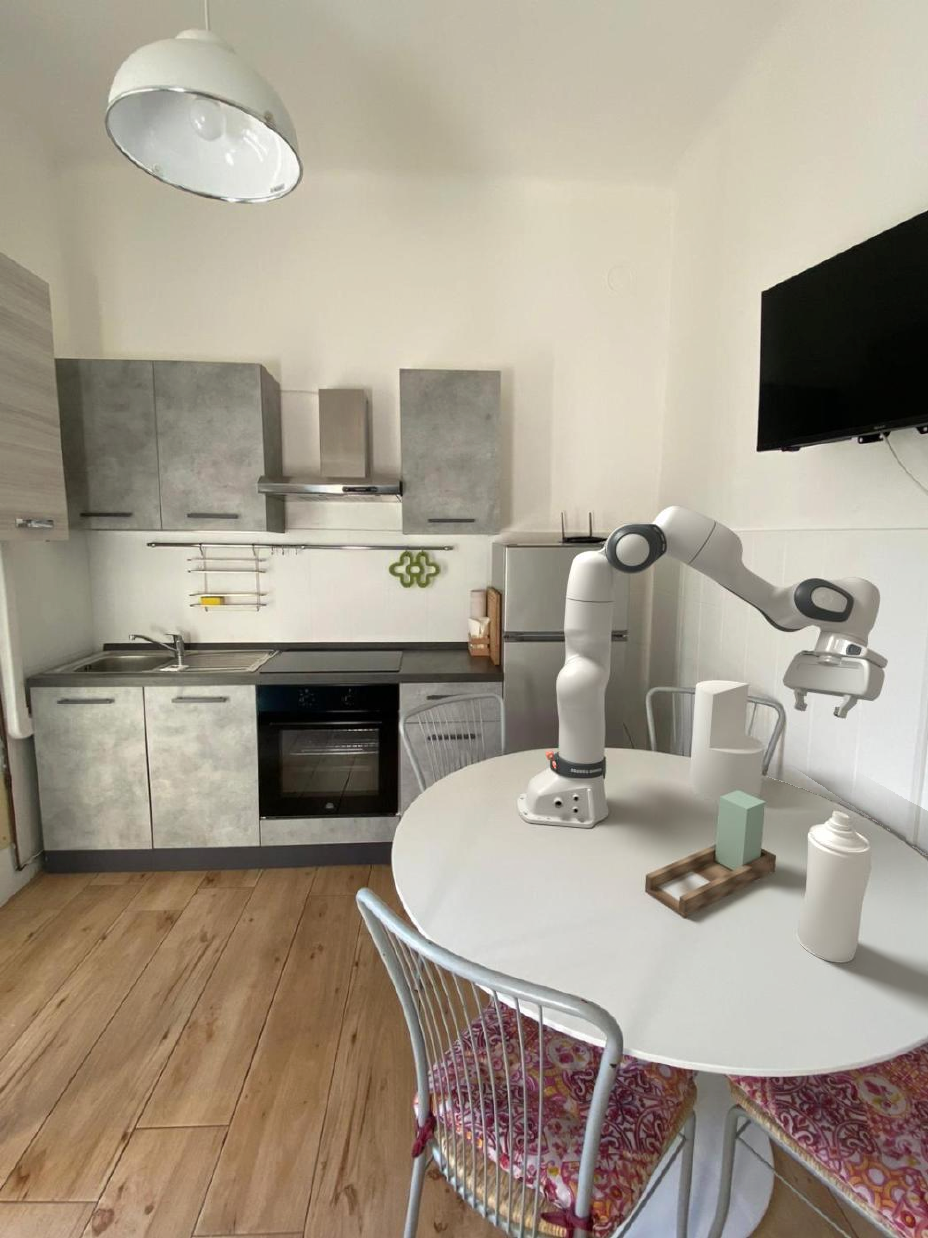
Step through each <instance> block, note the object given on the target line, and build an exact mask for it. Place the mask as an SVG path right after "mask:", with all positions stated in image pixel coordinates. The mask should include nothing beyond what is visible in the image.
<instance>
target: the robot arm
mask: <svg viewBox="0 0 928 1238" xmlns="http://www.w3.org/2000/svg"><path fill="white" fill-rule="evenodd" d="M743 548H744V547H743V543H742V541H741V538H740V537H739V536H738V534H736V533H735V532H734V531H733V530H731V529H730V528H729V527H727V526H726V525H724V524H722V523H720V522H719V521H716V520H714V519H713V518H711V517H708V516H706V515H704V514H703V513H700V512H697V511H694V510H691V509H688V508H686V507H682V506H680V505H671V506H669V507H666V508H665V509H663V510H662V511H661V512H659V513H658V515H657V516H656V518H655V519H654V521H653V522H651V523H638V522H626V523H624V524H620V525H618V526H617V527H615V528H614V529H613V530H612V531H611V532H610V534H609V535H608V537H607V539H606V541H605V542H604V543H603V545H602V547H601V548H600V550H589V551H583V552H580V553H579V554H577V555H576V556H575V557H574V558H573V559H572V564H571V565H570V570H569V575H568V579H567V585H566V586H567V587H566V593H565V594H566V595H565V607H564V609H565V610H564V623H563V624H564V626H563V633H564V643H565V644H564V645H565V646H564V647H565V659H564V664H563V667H562V668H561V669H560V670H559V673H558V674H557V677H556V681H555V682H556V683H555V689H556V690H555V691H556V705H557V715H558V726H559V727H558V751H557V752H555V753H554V751H553V750H550V749H549V750H547V751H546V753H545V756H546V759H547V760H548V761H549V767H547V768H545V769H544V770H543V771H541V772H540V773H538V774H537V775H534V776H533V777H532V778H531V779H530V780H529V782H528V785H527V789H526V792H523V793H521V794H520V795H519V796H518V798H517V801H516V802H517V803H516V808H517V812H518V814H519V816H520V817H521V818H522V819H523V820H524V821H526V822H527V823H530V824H536V825H537V824H540V825H550V826H562V827H572V828H574V827H575V828H582V829H590V828H592V827H593V826H595V825H596V823H598V822H600V821H602V820H604V819H606V817H608V815H609V813H610V811H609V806H608V801H607V797H606V790H605V789H606V788H605V779H606V774H607V757H606V756H605V746H606V745H605V744H606V717H605V716H606V715H605V710H606V709H605V697H606V696H605V695H606V694H605V693H606V690H607V686H608V683H609V680H610V675H611V658H612V655H611V654H612V629H613V617H614V605H615V604H614V603H615V594H616V593H615V591H616V585H617V580H618V578H619V577H620V576H621V575H622V574H623V573H624V574H631V575H633V574H640V573H642V572H644V571H646V570H647V569H649V568H650V567H651V566H652V565H654V564H655V563H656V562H657V561H658V560H659V559H660V558H661V557H662V556H664V555H665V556H669V557H672V558H674V559H677V560H678V561H680V562H681V563H683V564H685V565H687V566H689V568H693V569H694V570H696V571H697V572H700V573H702V574H703V575H705V576H707V577H709V578H710V579H712V580H713V581H714V582H716V583H717V584H719V585H720V586H721V587H723V588H724V589H725V590H727V591H728V592H730V593H732V594H733V595H735V596H736V597H738V598H739V599H741V600H743V601H744V602H746V603H747V604H749V605H750V606H752V607H753V608H755V609H756V610H757V611H758V612H759V613H760V614H761V615H762V616H763V617H764V618H765V620H766V621H767V622H768V623H769V625H771V626H772V627H773V628H774V629H776V630H778V631H779V632H780V631H781V632H782V633H783V632H784V633H795V632H799V631H801V630H803V629H805V628H808V627H811V626H815V627H817V628H819V629H820V631H819V636H818V638H817V641H816V643H815V647H814V650H805V649H804V650H801V651H799V652H798V653H796V654H795V655H794V657H793V659H792V660H791V661H790V663H789V665H788V667H787V669H786V671H785V672H784V673H785V674H784V675H783V678H782V683H783V685H784V686H785V687H787V688H788V689H790V690H793V691H794V692H793V694H794V698H795V703H794V705H793V708H794V709H795V710H797V711H800V712H805V711H806V710H807V707H808V703H805V697H807V696H808V693H813V694H819V695H826V696H832V697H833V696H834V697H841V698H842V699H843V700H844V701H843V702H842V703H841V704H840V705H839V706H835V707H834V711H833V716H834V717H836V718H840V719H846V718H847V715H848V712H849V711H850V710H852V708H854V707H855V706H856V705H857V703H858V700H864V701H869V702H873V701H875V700H877V699H878V698H880V694H881V693H882V689H883V686H884V682H885V677H886V675H885V671H884V669H885V668H886V667H887V665H888V663H889V662H888V661H889V660H888V659H887V658H886V657H884V656H883V655H881V654H879V653H878V652H876V651H874V650H872V649H870V648H868V646H869V634H870V632H871V631H872V630H873V628H874V627H875V623H876V621H877V617H878V613H879V610H880V609H879V608H880V604H881V593H880V590H879V588H878V587H877V586H876V585H875V584H874V583H872V582H871V581H869V580H866V579H863V578H861V577H856V576H849V577H844V578H841V579H823V578H819V577H817V578H816V577H813V578H807V579H805V580H801V581H799V582H796V583H794V584H792V585H791V586H788V587H781V586H775V585H773V584H771V583H770V582H768V581H767V580H765V579H763V578H762V577H761V576H759V575H757V574H756V573H754V572H753V571H751V570H750V569H749V568H748V567H746V566H745V564H744V562H743V550H744V549H743Z"/></svg>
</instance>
